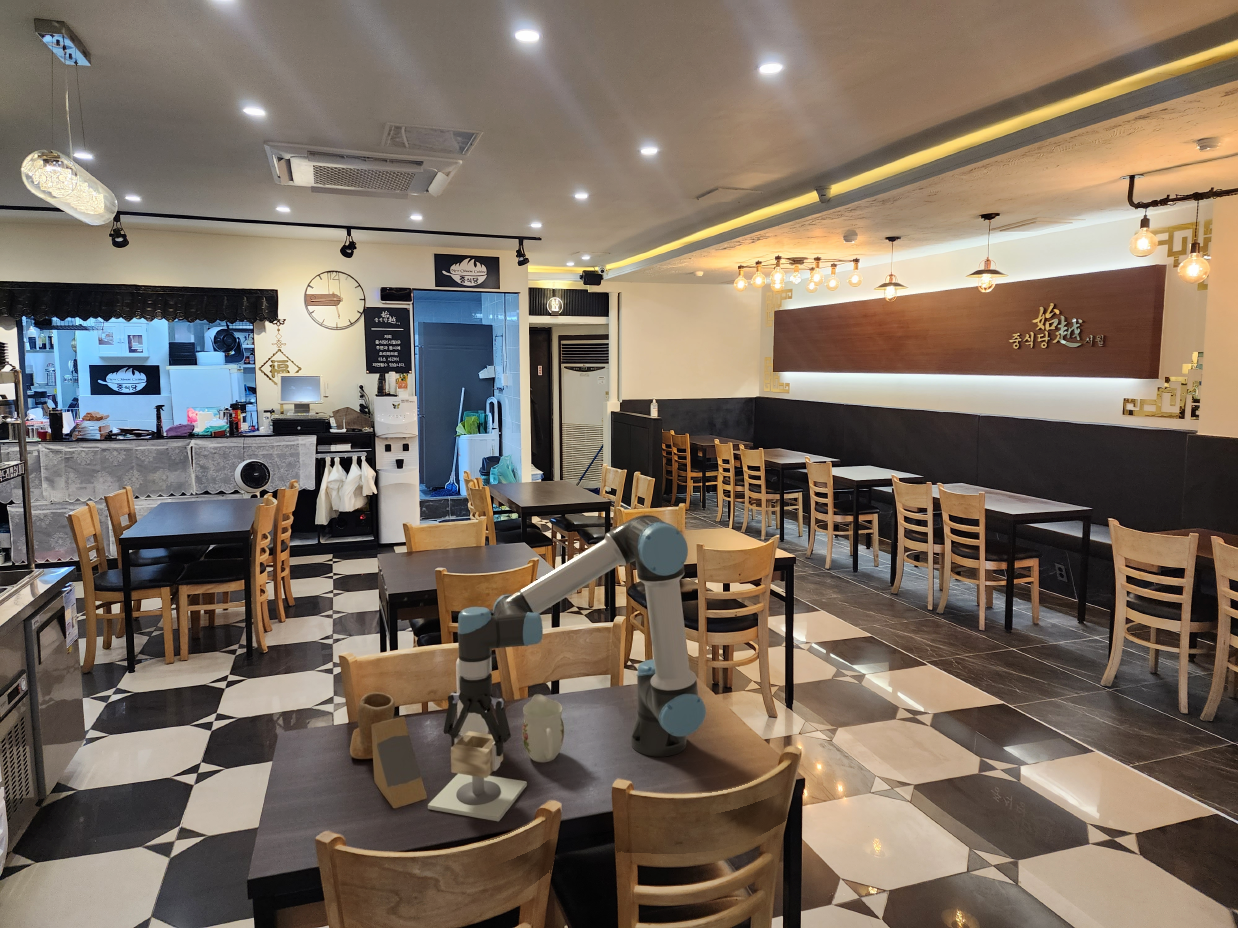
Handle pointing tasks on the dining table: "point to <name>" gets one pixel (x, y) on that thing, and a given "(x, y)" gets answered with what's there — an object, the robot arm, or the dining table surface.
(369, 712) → the tan boot
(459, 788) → the post stand
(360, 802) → the dining table surface
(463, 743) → the collar
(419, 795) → the sandwich container
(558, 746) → the pitcher
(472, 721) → the bottle
